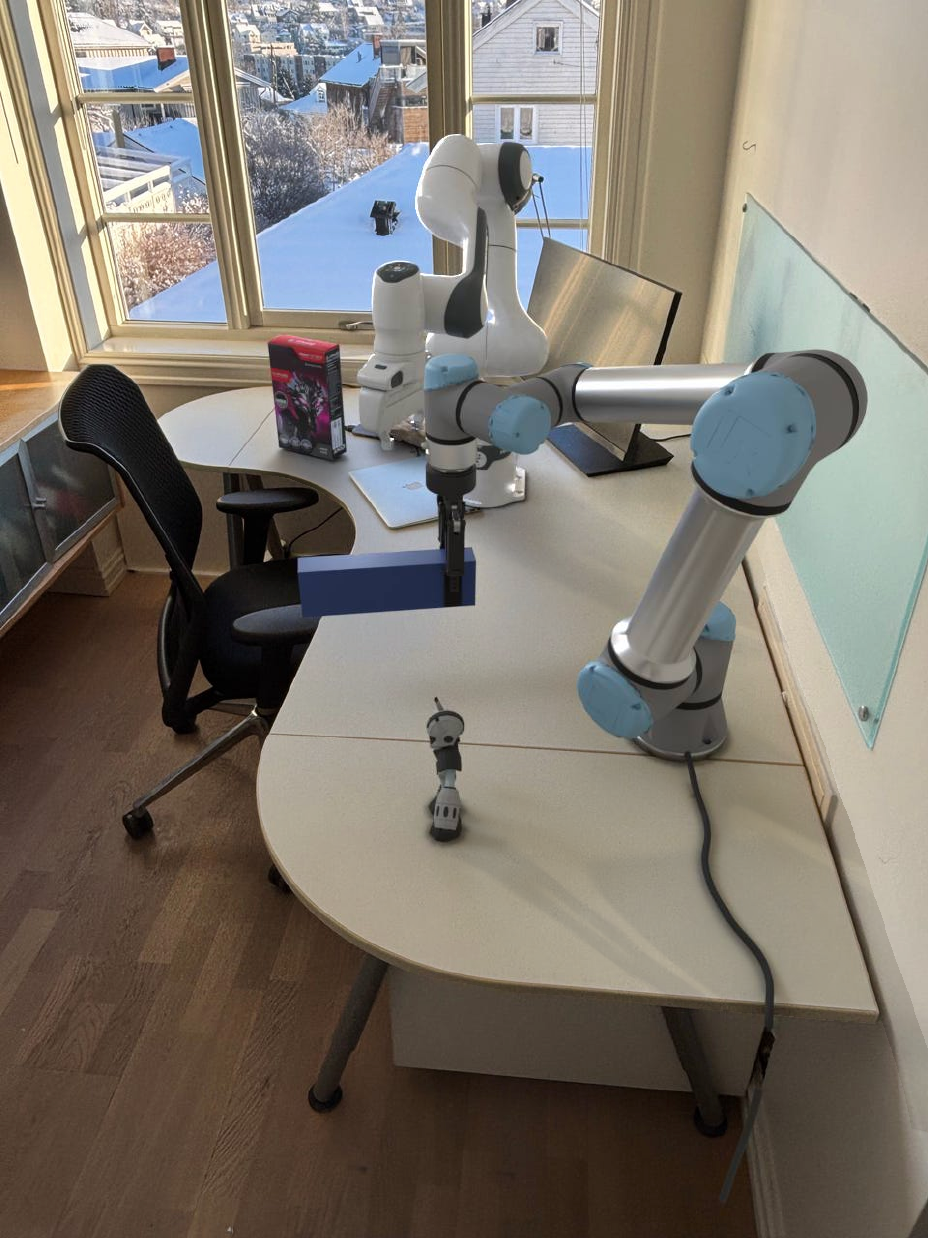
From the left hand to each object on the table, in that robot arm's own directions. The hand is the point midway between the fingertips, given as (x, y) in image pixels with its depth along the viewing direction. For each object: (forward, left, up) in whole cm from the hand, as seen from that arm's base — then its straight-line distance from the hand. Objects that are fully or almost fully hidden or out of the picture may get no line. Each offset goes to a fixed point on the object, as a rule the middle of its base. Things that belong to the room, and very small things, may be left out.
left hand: (402, 439), depth 166 cm
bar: (+31, +7, -15) cm, 35 cm away
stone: (-63, -20, -28) cm, 72 cm away
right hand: (+27, +17, -14) cm, 35 cm away
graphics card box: (-50, -41, -28) cm, 71 cm away
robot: (+61, +26, -28) cm, 72 cm away
